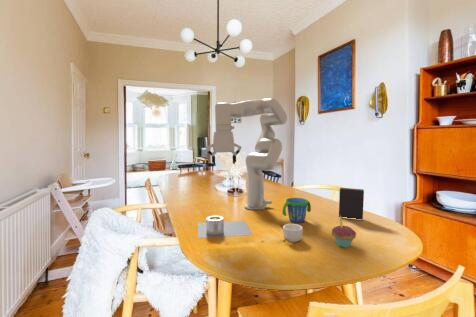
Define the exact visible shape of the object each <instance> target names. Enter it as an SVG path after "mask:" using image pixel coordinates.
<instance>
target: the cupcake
mask: <svg viewBox="0 0 476 317" xmlns="http://www.w3.org/2000/svg"><path fill="white" fill-rule="evenodd" d="M339 222H340V224H339V225H337V226H334V227H333V228H332V229H331V236H333V237H334V239H335V242H336V245H337V244H338V245H339V247H341V246H343V247H342V248H349V247H351V244H352V242H353V240H354V239H356V237H357V234H356V231H355V230H354V229H352V227H350V226H348V225H343V218H342V217H341V215H340V218H339ZM338 245H337V246H338ZM348 246H349V247H348Z"/></svg>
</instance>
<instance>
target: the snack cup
mask: <svg viewBox="0 0 476 317" xmlns="http://www.w3.org/2000/svg"><path fill="white" fill-rule="evenodd" d="M285 200H286V202H285V203H284V204H283V207H282V215H283V216H284V217H286V216H287V213H288V219H289V221H290V222H293V223H302V222H305V219H306V215H307V212H308V213H310V212H311V211H312V207H311V206H312V205H311V202H310V201H309V200H308V199H306V198H302V197H290V198H287V199H285ZM286 209H287V212H286Z"/></svg>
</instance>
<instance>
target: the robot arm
mask: <svg viewBox="0 0 476 317" xmlns="http://www.w3.org/2000/svg"><path fill="white" fill-rule="evenodd" d="M214 108H215V109H214V113H215V114H214V115H215V120H214V121H215V131H214V132H213V137H212V138H213V139H212V144H210V145H208V146H206V147H205V149H206V151H207V153H208V154H209V155H210V156H211V163H212V164H213V165H214V166H215V165H216V156H215V155H217V153H231V154H232V164H234V165H235V164H236V163H237V155H238V154H239V153H240V151H241V149H242V146H241V145H239V144H237V143H236V142H235V139H234V138H235V137H234V133H233V131H232V130H234V129H235V126H233V125H232V120H233V119H234V120H236V119H241V118H245V117H248V118H249V117H253V116H258V115H259V116H260V117H259V123H260V127H261V133H260V135H259V137H258V139H257V141H256V143H255V146H254V151H255V152H250V153H249V154H247V155H246V156H245V165H246V174H247V176H246V177H247V179H246V180H247V182H246V184H247V186H246V188H247V192H246V196H247V197H246V198H247V199H246V200H247V201H246V202H247V203H245V204H244V208H245V209H247V210H251V211H259V210H262V211H263V210H265V209H266V208H267V205H272V204H273V200H268V199H267V200H266V199H265V198H264V197H265V177H264V173H263V171H265V172H267V171H273V169H275V167H276V166H277V163H278V160H279V158H280V156H281V153H282V150H283V145H282V141H281V139H279V138H275V137H276V133H275V131H274V129H273V127H272V126H283V125H286V123H287V121H288V115H287V112H286V110H285V109H284V108H283V106H282V105H281V102H279V101H278V100H277V99H276V98H274V97H269V98H260V99H259V98H258V99H250V100H244V101H239V102H234V103H233V102H232V103H229V102H217V103H215V105H214ZM235 147H236V148H237V150H235ZM211 148H212V150H213V151H211V150H210V149H211Z"/></svg>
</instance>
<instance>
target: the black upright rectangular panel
mask: <svg viewBox="0 0 476 317" xmlns="http://www.w3.org/2000/svg"><path fill="white" fill-rule="evenodd" d="M364 195H365V191H364V189H363V188H350V187H349V188H348V187H340V188H339V198H338V200H339V201H338V203H339V204H338V218H339V217H340V215H341V217H347V218H356V219H363V220H364V201H365V200H364V197H365V196H364Z"/></svg>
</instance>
